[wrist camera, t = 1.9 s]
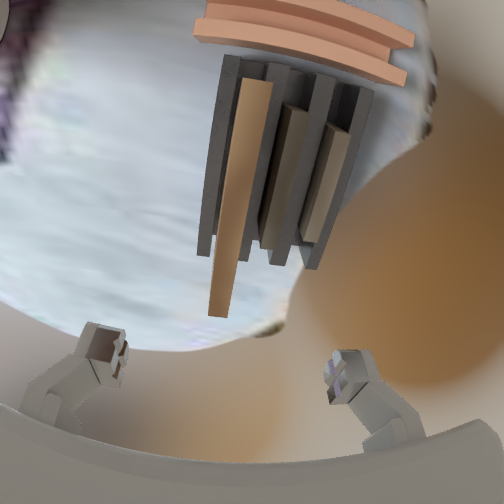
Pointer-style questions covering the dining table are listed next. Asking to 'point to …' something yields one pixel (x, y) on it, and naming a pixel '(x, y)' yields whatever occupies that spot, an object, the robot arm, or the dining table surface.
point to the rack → (287, 91)
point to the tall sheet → (237, 189)
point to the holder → (309, 33)
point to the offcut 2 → (323, 181)
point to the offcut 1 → (281, 173)
